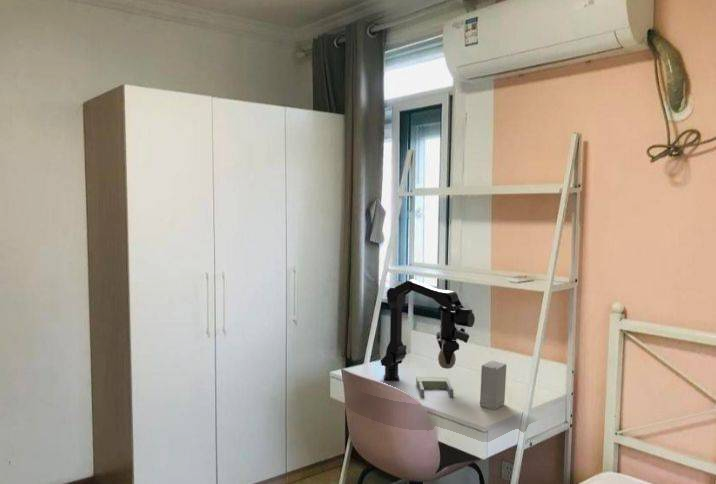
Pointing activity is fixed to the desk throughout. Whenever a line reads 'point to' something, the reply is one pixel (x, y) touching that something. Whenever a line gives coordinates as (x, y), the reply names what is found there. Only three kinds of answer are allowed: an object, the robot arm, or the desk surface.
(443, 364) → the brown oval solid
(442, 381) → the green u-shaped bracket
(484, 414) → the desk surface
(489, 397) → the skincare box
